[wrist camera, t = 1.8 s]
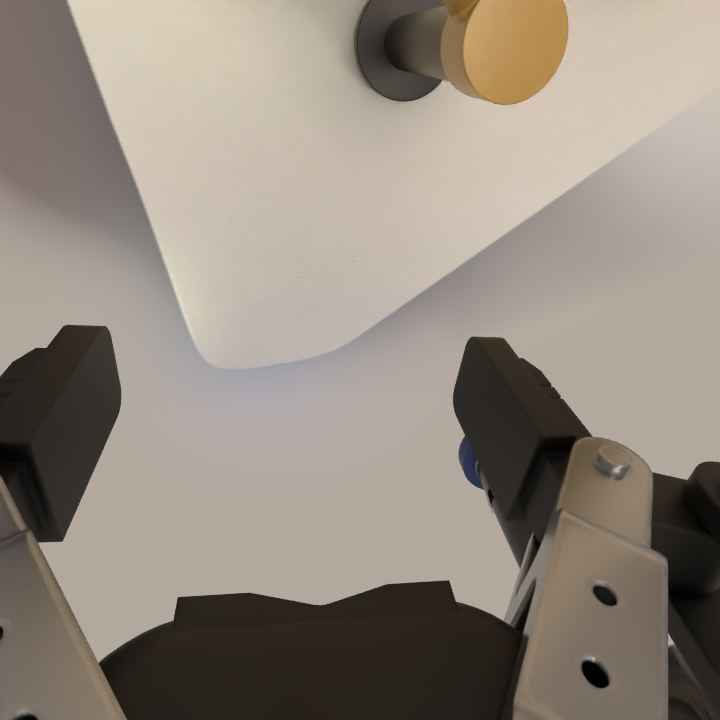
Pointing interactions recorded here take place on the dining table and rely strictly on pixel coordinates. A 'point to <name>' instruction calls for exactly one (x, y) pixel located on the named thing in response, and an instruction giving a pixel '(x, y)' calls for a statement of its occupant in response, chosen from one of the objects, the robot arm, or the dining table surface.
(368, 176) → the dining table surface
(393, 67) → the black post with base
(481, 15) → the spout
